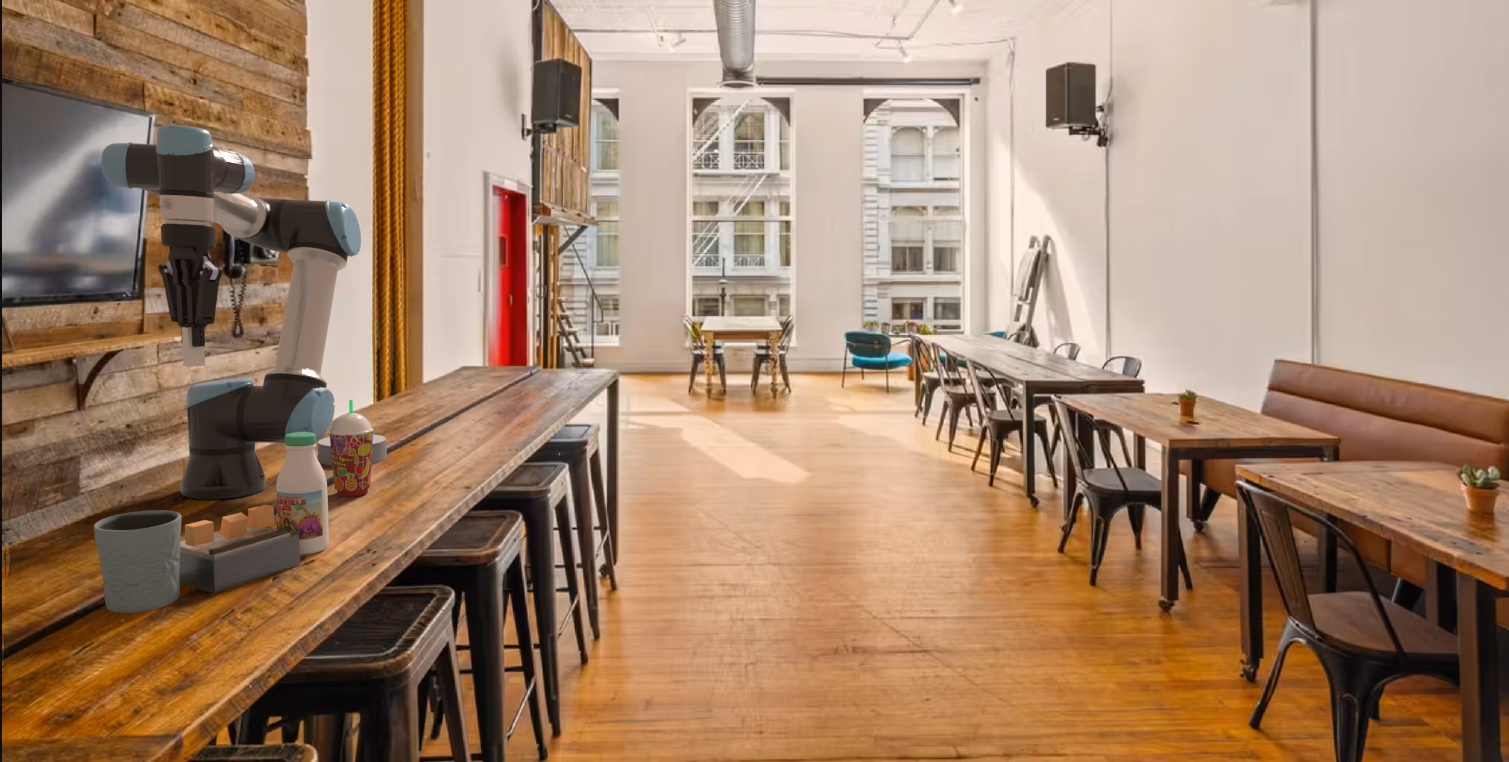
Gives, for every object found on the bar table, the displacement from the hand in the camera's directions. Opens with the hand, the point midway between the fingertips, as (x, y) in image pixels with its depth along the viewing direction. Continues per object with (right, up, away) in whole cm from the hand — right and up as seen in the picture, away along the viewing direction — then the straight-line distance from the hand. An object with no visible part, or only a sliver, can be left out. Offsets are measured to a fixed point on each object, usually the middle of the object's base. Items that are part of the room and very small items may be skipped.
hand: (194, 365), depth 143 cm
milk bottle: (+17, -31, +2) cm, 36 cm away
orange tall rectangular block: (+11, -28, -15) cm, 33 cm away
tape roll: (-4, -22, +66) cm, 70 cm away
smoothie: (+10, -26, +36) cm, 46 cm away
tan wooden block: (+15, -27, -6) cm, 31 cm away
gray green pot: (+7, -34, -22) cm, 41 cm away
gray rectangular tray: (+12, -33, -9) cm, 36 cm away
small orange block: (+13, -27, -10) cm, 32 cm away
